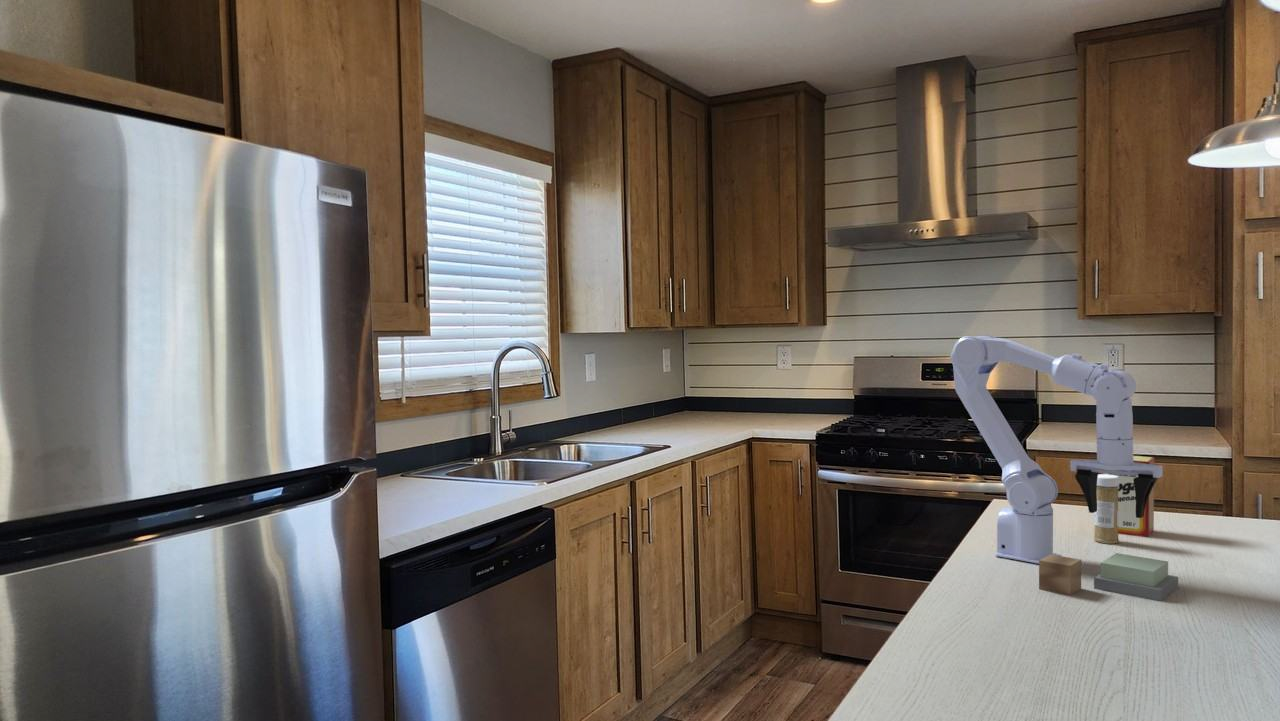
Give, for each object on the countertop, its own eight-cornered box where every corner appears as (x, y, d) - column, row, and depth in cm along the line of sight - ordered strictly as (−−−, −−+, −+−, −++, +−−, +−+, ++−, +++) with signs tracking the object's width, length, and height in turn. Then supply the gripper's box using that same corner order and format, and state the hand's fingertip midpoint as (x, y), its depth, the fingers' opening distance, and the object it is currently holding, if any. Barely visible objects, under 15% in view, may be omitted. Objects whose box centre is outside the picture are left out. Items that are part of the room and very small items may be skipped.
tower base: (1093, 592, 149) (1094, 577, 149) (1113, 579, 157) (1114, 565, 156) (1160, 605, 142) (1160, 590, 142) (1178, 591, 149) (1178, 576, 149)
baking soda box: (1153, 530, 188) (1154, 455, 187) (1148, 537, 183) (1149, 459, 182) (1103, 525, 194) (1104, 452, 193) (1097, 531, 189) (1098, 456, 188)
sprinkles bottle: (1123, 542, 179) (1123, 475, 178) (1111, 545, 177) (1111, 478, 176) (1100, 537, 183) (1101, 472, 182) (1088, 540, 180) (1089, 475, 180)
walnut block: (1039, 589, 150) (1039, 560, 149) (1050, 583, 153) (1050, 554, 153) (1070, 595, 146) (1070, 565, 146) (1081, 589, 150) (1081, 559, 149)
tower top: (1100, 577, 150) (1100, 562, 149) (1116, 567, 155) (1116, 553, 155) (1153, 587, 144) (1153, 571, 144) (1168, 576, 149) (1168, 561, 149)
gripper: (1167, 438, 155) (1168, 515, 156) (1079, 433, 166) (1080, 506, 166) (1155, 442, 150) (1156, 522, 151) (1065, 437, 160) (1067, 512, 161)
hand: (1116, 514), depth 158 cm, fingers open, 7 cm apart
